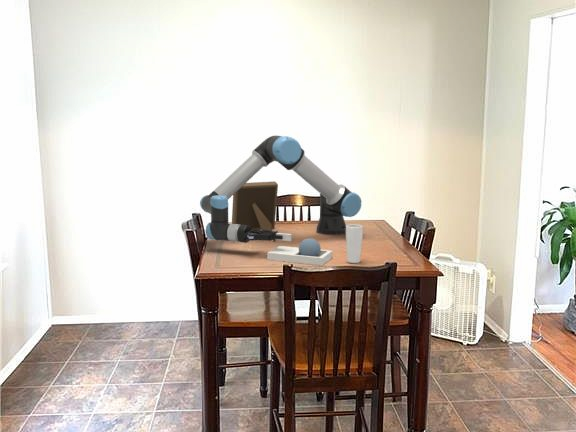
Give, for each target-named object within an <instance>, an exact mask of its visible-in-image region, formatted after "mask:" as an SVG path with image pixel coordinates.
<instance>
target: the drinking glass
mask: <svg viewBox="0 0 576 432" xmlns="http://www.w3.org/2000/svg"><path fill="white" fill-rule="evenodd" d="M363 229H364V227H363V225H361V224H355V223H354V224H347V225H346V233H345V245H346V260H347V263H350V264H359V263H360V262H361V256H362V255H361V254H362V246H363V245H362V243H363V233H364V232H363V231H364V230H363Z"/></svg>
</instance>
